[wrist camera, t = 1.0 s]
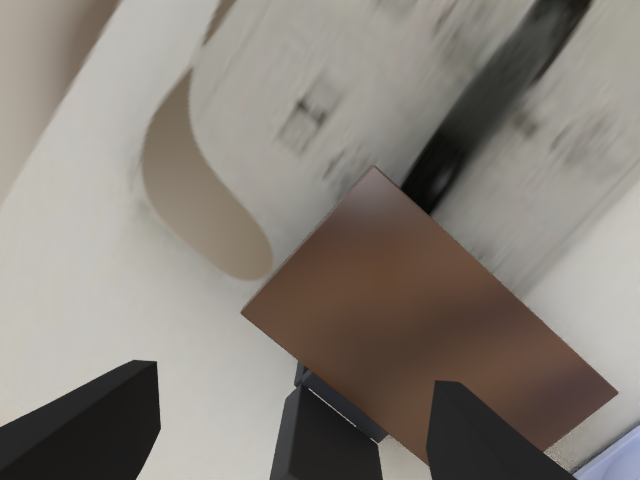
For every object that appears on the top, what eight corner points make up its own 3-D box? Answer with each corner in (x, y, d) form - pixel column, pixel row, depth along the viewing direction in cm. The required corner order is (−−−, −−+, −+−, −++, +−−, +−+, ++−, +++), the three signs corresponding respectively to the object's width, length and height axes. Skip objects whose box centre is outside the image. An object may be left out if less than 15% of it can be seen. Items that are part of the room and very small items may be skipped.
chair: (435, 344, 20) (502, 469, 12) (357, 416, 21) (371, 572, 13) (368, 286, 19) (392, 377, 11) (291, 363, 20) (265, 493, 12)
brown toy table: (556, 340, 19) (619, 393, 15) (447, 433, 21) (476, 505, 17) (364, 162, 18) (374, 164, 13) (260, 278, 19) (239, 313, 15)
